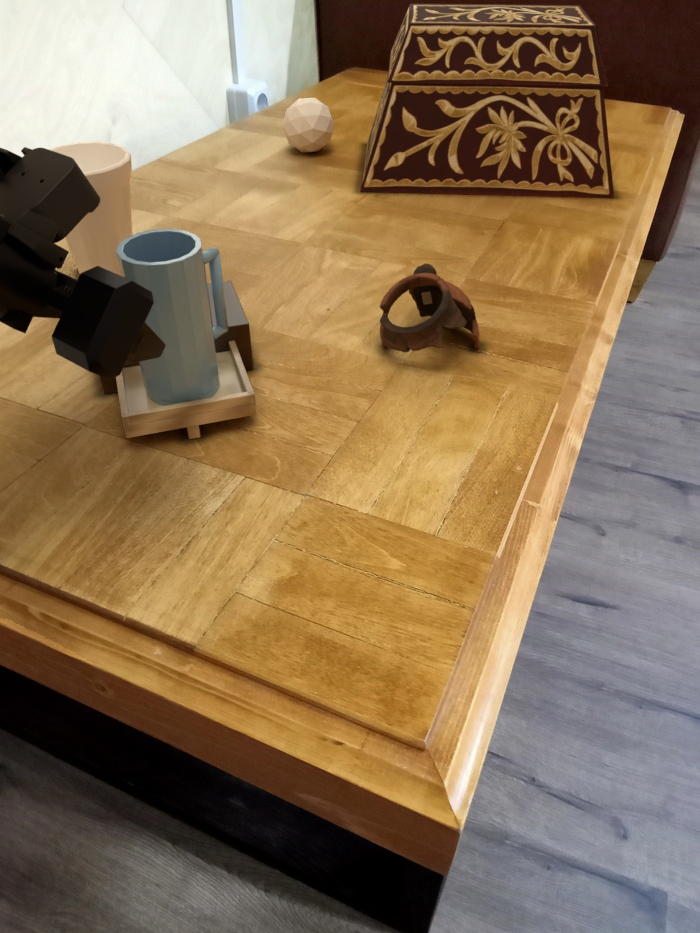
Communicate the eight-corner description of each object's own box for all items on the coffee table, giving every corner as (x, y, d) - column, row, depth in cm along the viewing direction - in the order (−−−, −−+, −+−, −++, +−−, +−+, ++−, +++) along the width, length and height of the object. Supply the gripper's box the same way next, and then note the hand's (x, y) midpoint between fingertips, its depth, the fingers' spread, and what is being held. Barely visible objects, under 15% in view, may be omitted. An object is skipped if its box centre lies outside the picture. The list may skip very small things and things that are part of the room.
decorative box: (360, 191, 108) (361, 28, 95) (366, 145, 123) (368, -2, 110) (614, 197, 107) (651, 32, 93) (589, 149, 121) (618, 1, 108)
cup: (167, 273, 90) (148, 158, 81) (87, 301, 85) (58, 182, 76) (124, 245, 95) (102, 135, 87) (47, 270, 90) (16, 155, 82)
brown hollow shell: (495, 368, 75) (469, 315, 69) (406, 402, 78) (372, 354, 72) (471, 283, 82) (445, 228, 76) (390, 317, 85) (358, 266, 79)
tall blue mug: (181, 416, 65) (156, 272, 56) (130, 389, 67) (99, 249, 59) (256, 368, 70) (242, 230, 62) (205, 345, 73) (186, 211, 65)
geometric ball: (323, 167, 123) (352, 128, 118) (285, 160, 118) (314, 119, 112) (303, 131, 125) (331, 91, 120) (265, 122, 120) (292, 80, 114)
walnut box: (111, 454, 65) (98, 405, 62) (98, 344, 78) (87, 300, 75) (274, 423, 68) (271, 376, 65) (235, 323, 81) (231, 279, 78)
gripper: (96, 151, 41) (255, 269, 55) (-87, 92, 50) (89, 206, 64) (8, 340, 42) (188, 411, 56) (-159, 248, 50) (32, 329, 64)
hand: (121, 330), depth 60 cm, fingers open, 9 cm apart
